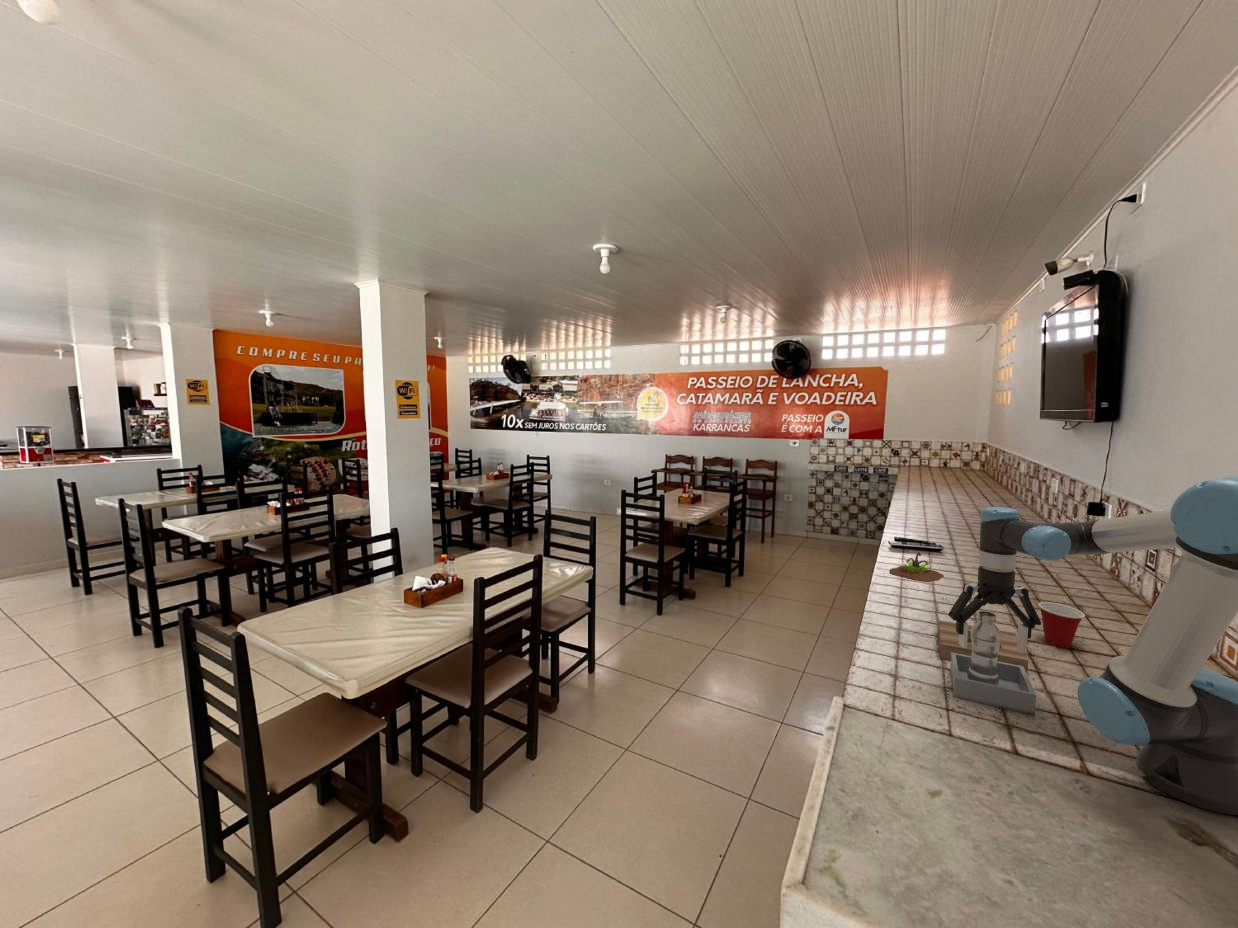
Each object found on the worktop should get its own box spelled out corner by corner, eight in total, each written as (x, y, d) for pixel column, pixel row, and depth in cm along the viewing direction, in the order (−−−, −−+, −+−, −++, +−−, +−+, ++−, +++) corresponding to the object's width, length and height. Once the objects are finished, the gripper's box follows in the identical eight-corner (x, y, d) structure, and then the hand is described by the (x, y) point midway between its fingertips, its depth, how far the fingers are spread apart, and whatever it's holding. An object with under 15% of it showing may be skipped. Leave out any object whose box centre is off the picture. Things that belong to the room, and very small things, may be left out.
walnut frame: (1027, 675, 136) (1028, 660, 136) (940, 658, 147) (941, 643, 146) (1014, 646, 154) (1015, 632, 153) (937, 633, 164) (938, 619, 163)
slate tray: (1034, 715, 119) (1036, 695, 118) (954, 696, 127) (955, 677, 126) (1022, 684, 132) (1023, 666, 132) (950, 669, 140) (951, 652, 140)
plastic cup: (1078, 657, 147) (1081, 617, 146) (1032, 644, 155) (1034, 607, 154) (1085, 646, 154) (1088, 608, 153) (1040, 634, 162) (1042, 599, 161)
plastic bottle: (963, 679, 134) (967, 607, 132) (993, 683, 132) (998, 610, 130) (970, 691, 128) (975, 616, 126) (1002, 696, 126) (1007, 620, 124)
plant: (951, 579, 218) (953, 554, 217) (928, 588, 208) (930, 562, 207) (905, 568, 235) (906, 545, 234) (882, 575, 225) (883, 551, 224)
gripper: (1042, 565, 128) (1037, 645, 130) (936, 561, 132) (932, 638, 134) (1062, 574, 121) (1057, 658, 122) (949, 569, 125) (945, 650, 127)
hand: (991, 648), depth 128 cm, fingers open, 13 cm apart
